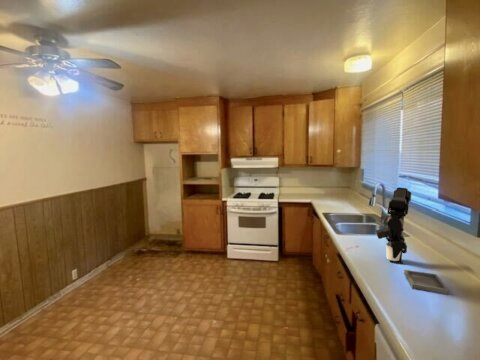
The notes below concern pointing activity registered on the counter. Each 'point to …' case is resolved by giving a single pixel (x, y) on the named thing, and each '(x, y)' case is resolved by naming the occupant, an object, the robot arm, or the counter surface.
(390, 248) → the cream cup
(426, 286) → the tray
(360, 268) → the counter surface
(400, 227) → the robot arm
